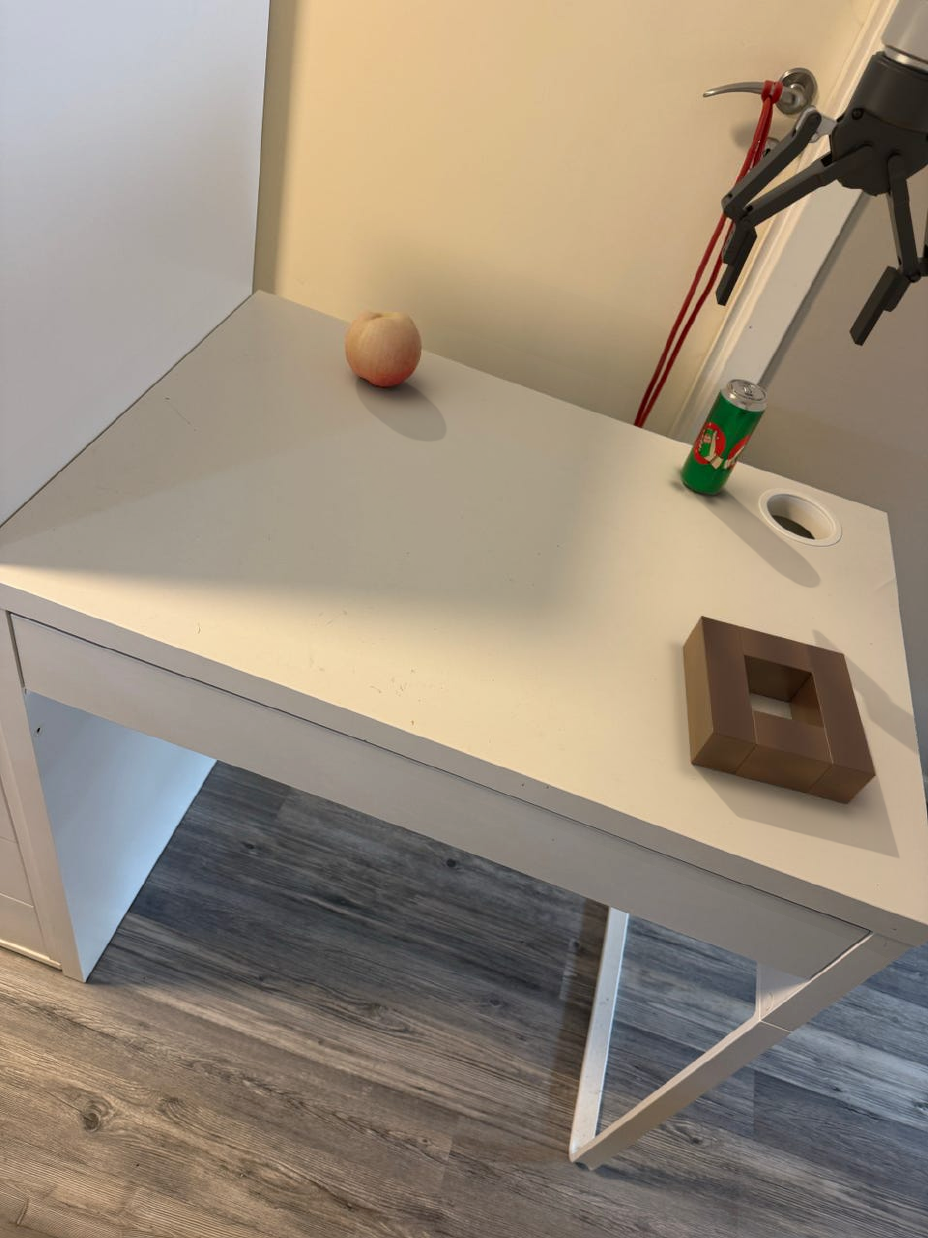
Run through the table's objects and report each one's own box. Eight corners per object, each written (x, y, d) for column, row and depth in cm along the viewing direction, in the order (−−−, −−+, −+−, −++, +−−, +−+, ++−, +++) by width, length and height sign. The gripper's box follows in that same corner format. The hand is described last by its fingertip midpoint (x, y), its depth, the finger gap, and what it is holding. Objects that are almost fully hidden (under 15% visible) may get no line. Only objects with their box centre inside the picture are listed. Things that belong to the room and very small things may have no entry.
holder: (820, 683, 76) (843, 653, 73) (848, 804, 66) (876, 775, 64) (682, 646, 75) (701, 615, 72) (690, 763, 66) (712, 732, 63)
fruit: (386, 356, 99) (397, 291, 94) (426, 392, 96) (440, 326, 90) (328, 366, 95) (336, 298, 89) (368, 404, 91) (379, 336, 86)
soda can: (717, 474, 97) (765, 382, 89) (724, 501, 94) (776, 407, 85) (675, 465, 97) (720, 372, 88) (681, 491, 93) (729, 396, 85)
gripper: (1053, 97, 69) (901, 337, 83) (764, 6, 67) (661, 267, 82) (1090, 122, 63) (921, 373, 78) (776, 23, 62) (664, 298, 77)
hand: (787, 319), depth 80 cm, fingers open, 13 cm apart
